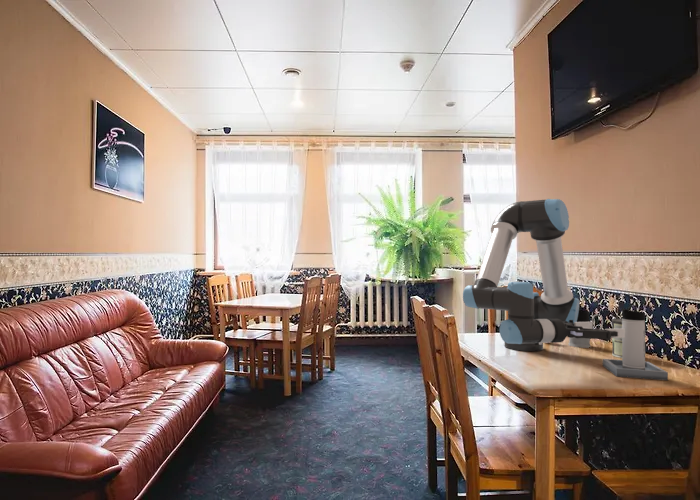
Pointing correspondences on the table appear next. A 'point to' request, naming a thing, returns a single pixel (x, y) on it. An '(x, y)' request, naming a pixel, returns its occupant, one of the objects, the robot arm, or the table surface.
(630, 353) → the travel mug
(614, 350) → the coffee can
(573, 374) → the table surface
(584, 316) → the lidded pitcher
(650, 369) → the tray
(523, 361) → the table surface
